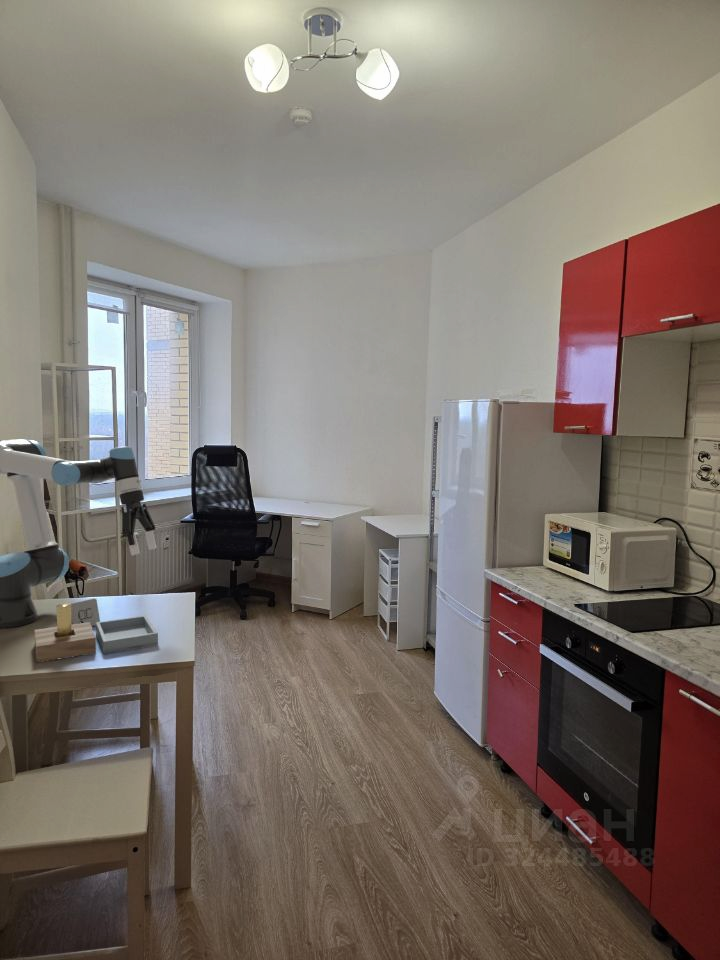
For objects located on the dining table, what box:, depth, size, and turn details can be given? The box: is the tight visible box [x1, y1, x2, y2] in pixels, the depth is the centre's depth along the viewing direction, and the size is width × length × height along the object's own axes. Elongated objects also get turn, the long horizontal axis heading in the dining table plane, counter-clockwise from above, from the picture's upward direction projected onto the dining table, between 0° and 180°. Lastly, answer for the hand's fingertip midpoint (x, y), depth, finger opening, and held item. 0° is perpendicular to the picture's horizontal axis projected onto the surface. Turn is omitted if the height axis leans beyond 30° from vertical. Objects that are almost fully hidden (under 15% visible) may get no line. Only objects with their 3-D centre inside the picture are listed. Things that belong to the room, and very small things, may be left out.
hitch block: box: [34, 622, 97, 663], centre depth 185 cm, size 16×16×5 cm
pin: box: [56, 603, 72, 637], centre depth 185 cm, size 4×4×14 cm
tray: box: [95, 614, 159, 655], centre depth 194 cm, size 20×16×4 cm
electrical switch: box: [70, 598, 101, 627], centre depth 206 cm, size 9×5×9 cm, turn 141°
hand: (144, 551), depth 203 cm, fingers open, 13 cm apart
